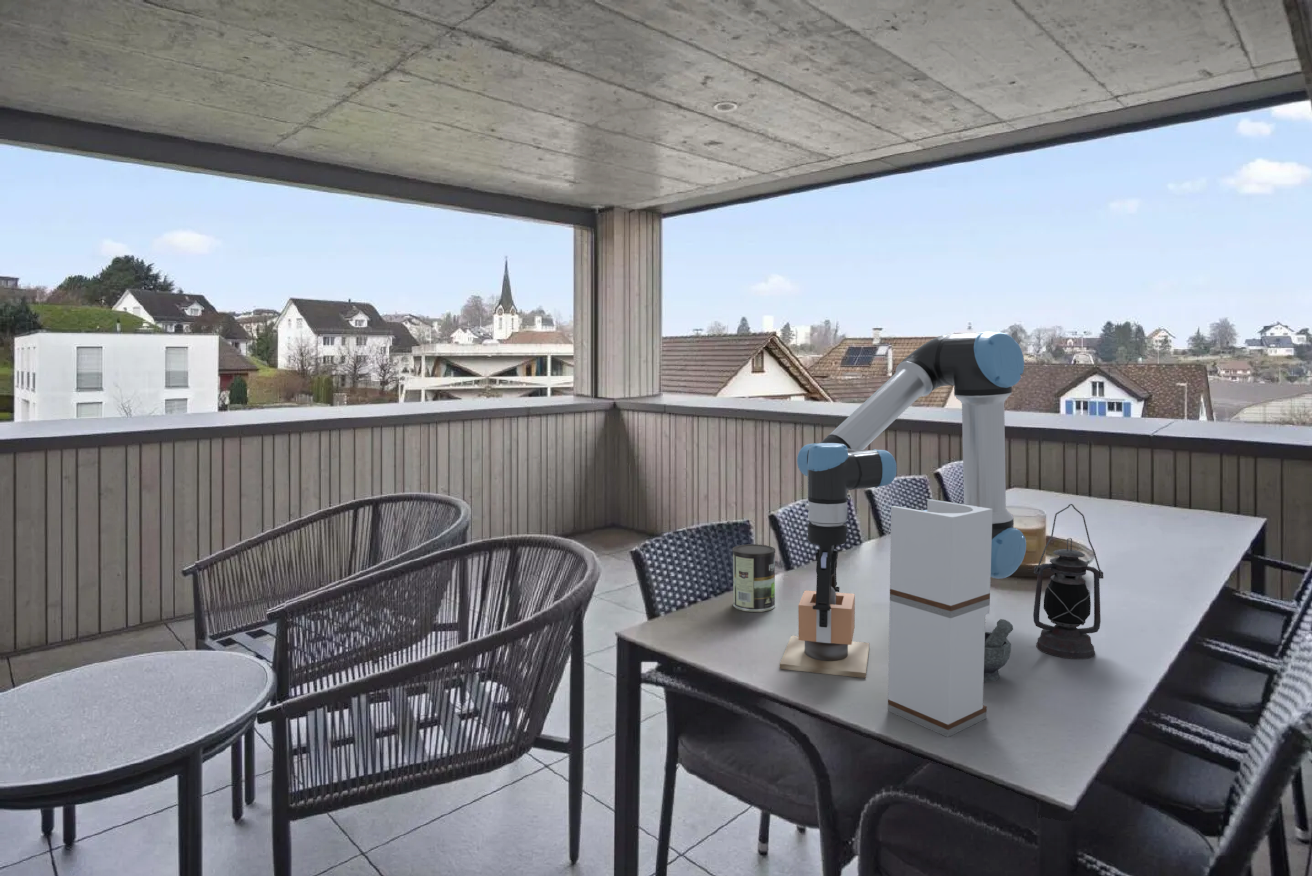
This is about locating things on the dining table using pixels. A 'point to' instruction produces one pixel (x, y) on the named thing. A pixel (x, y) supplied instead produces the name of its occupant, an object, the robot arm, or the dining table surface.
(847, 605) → the square collar
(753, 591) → the coffee can
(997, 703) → the dining table surface
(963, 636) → the white square vase
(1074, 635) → the lantern
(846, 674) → the post stand
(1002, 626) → the mortar and pestle
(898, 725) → the dining table surface
